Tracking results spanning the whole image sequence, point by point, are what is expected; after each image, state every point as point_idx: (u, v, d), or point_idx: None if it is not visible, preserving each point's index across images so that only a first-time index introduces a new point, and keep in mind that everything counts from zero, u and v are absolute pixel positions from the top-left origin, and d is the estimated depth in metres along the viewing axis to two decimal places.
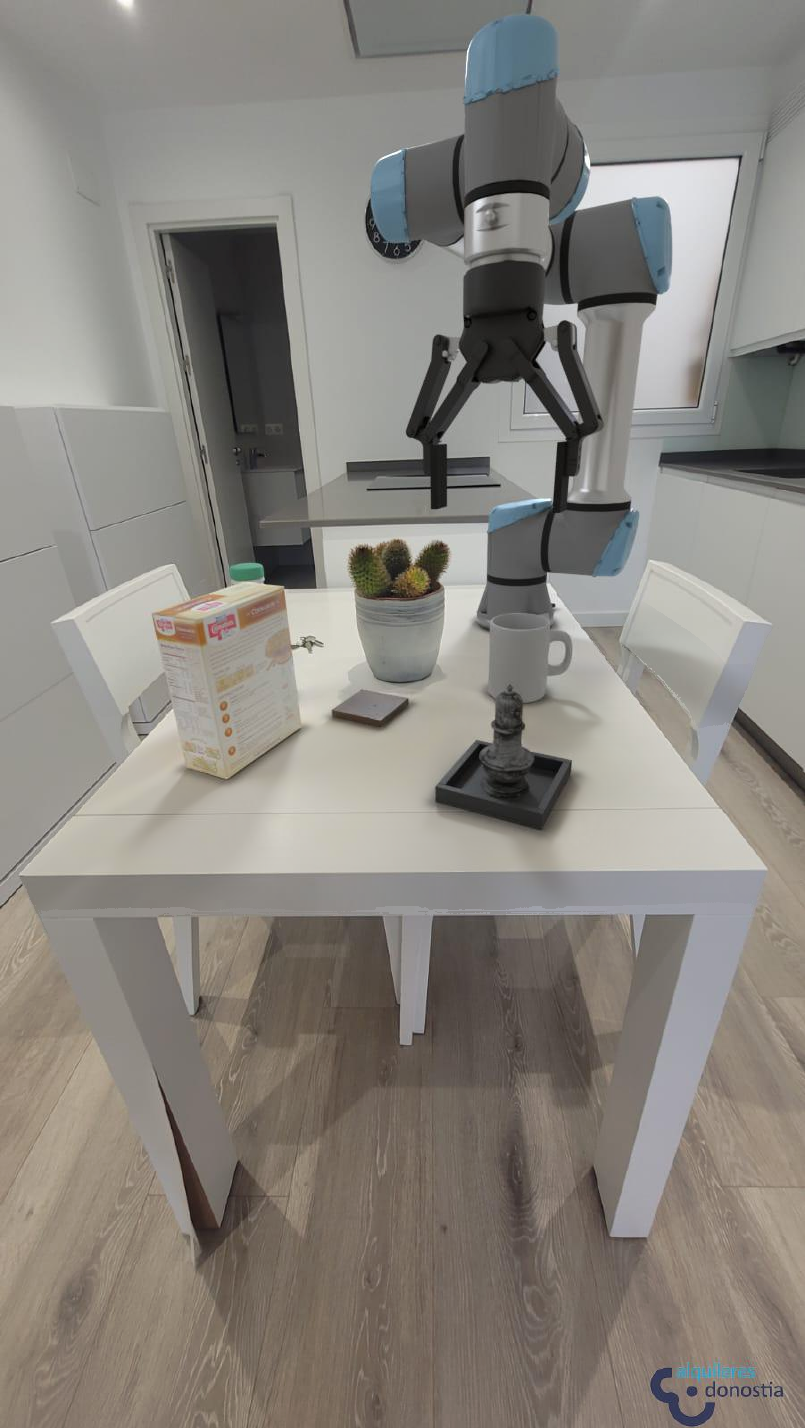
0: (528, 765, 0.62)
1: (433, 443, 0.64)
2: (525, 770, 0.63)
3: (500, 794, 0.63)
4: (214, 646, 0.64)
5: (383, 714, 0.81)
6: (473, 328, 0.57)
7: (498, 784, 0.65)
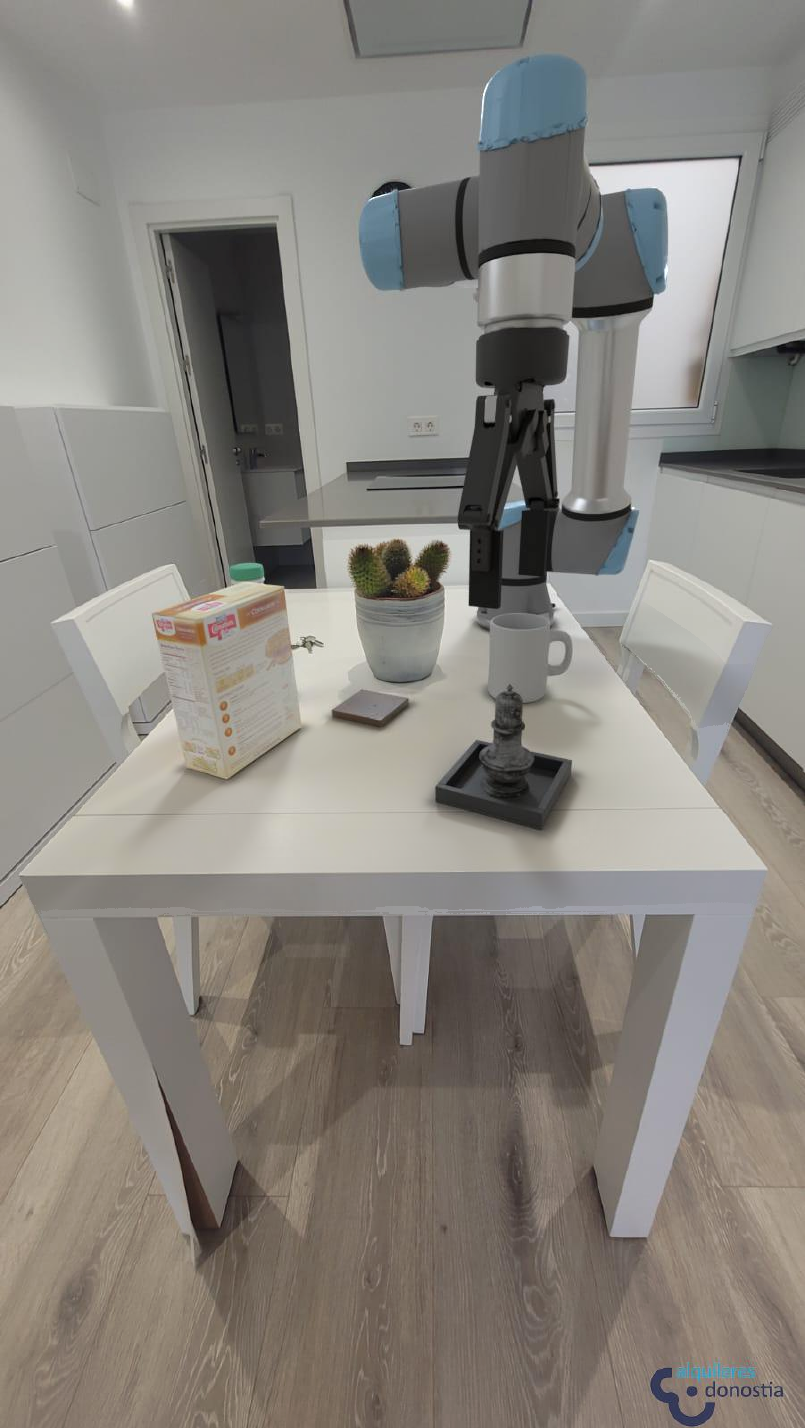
0: (528, 765, 0.62)
1: (531, 508, 0.61)
2: (525, 770, 0.63)
3: (500, 794, 0.63)
4: (214, 646, 0.64)
5: (383, 714, 0.81)
6: None
7: (498, 784, 0.65)
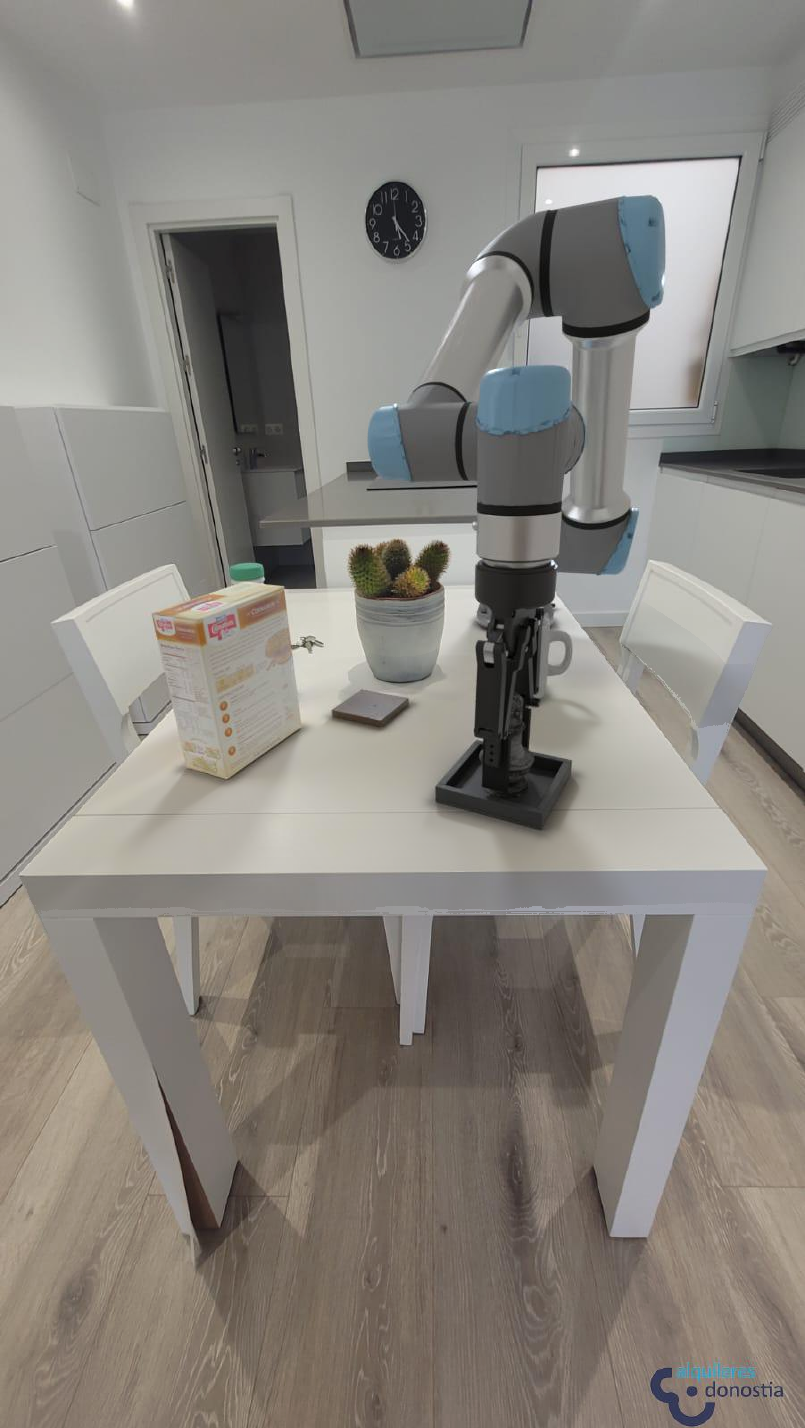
0: (528, 765, 0.62)
1: None
2: (525, 770, 0.63)
3: (500, 794, 0.63)
4: (214, 646, 0.64)
5: (383, 714, 0.81)
6: None
7: None
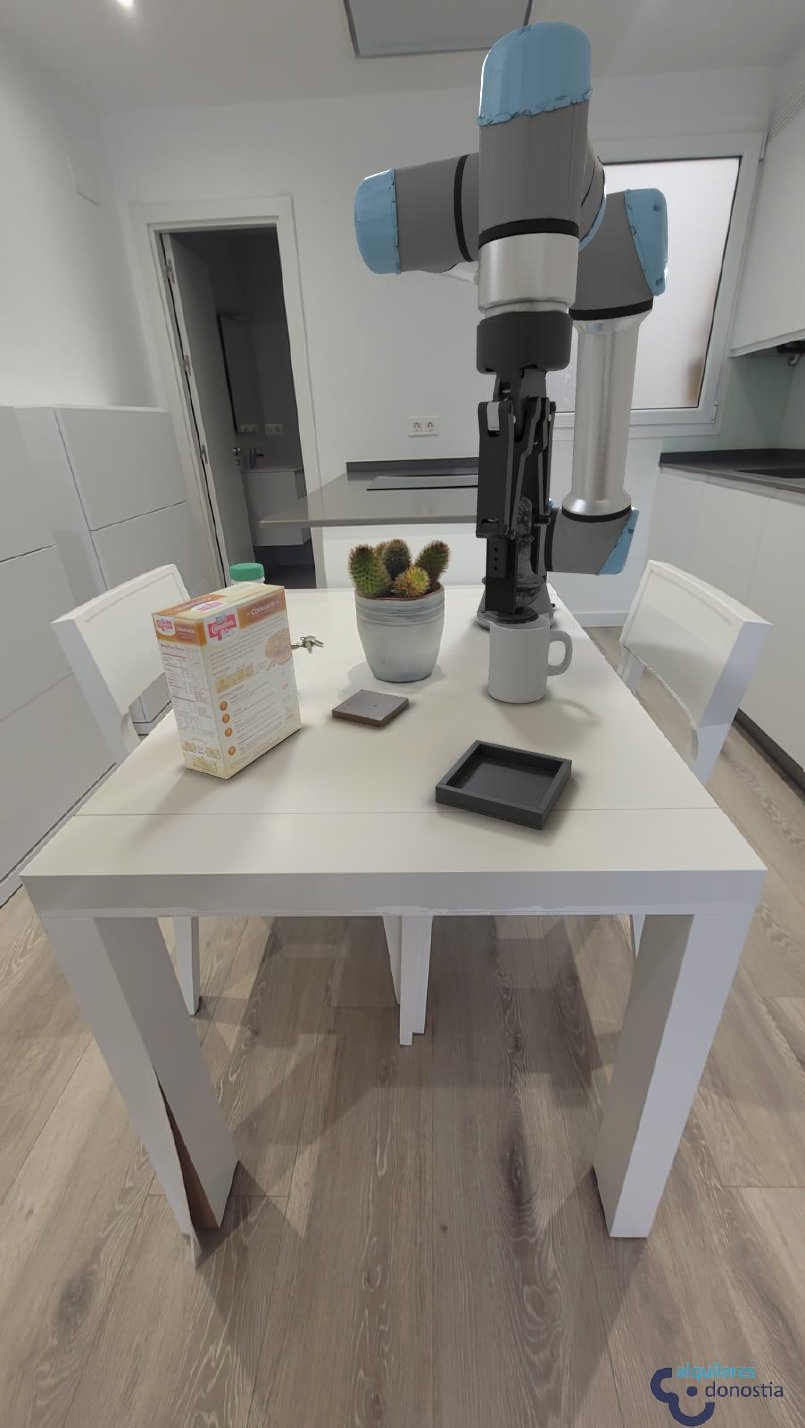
0: (538, 583, 0.54)
1: None
2: (534, 590, 0.55)
3: (505, 621, 0.56)
4: (214, 646, 0.64)
5: (383, 714, 0.81)
6: None
7: (503, 613, 0.57)
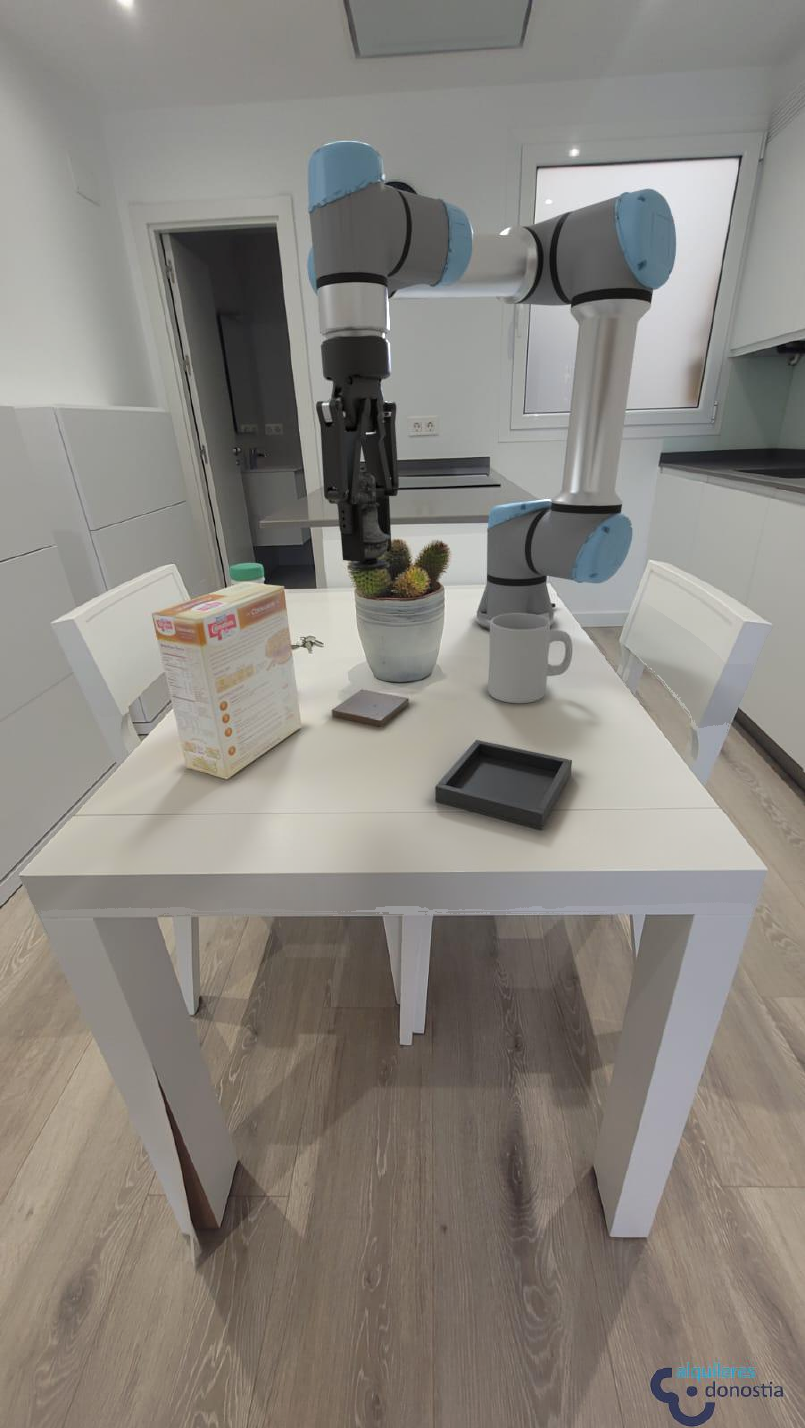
0: (382, 539, 0.72)
1: None
2: (380, 545, 0.72)
3: (360, 569, 0.73)
4: (214, 646, 0.64)
5: (383, 714, 0.81)
6: None
7: (360, 563, 0.74)
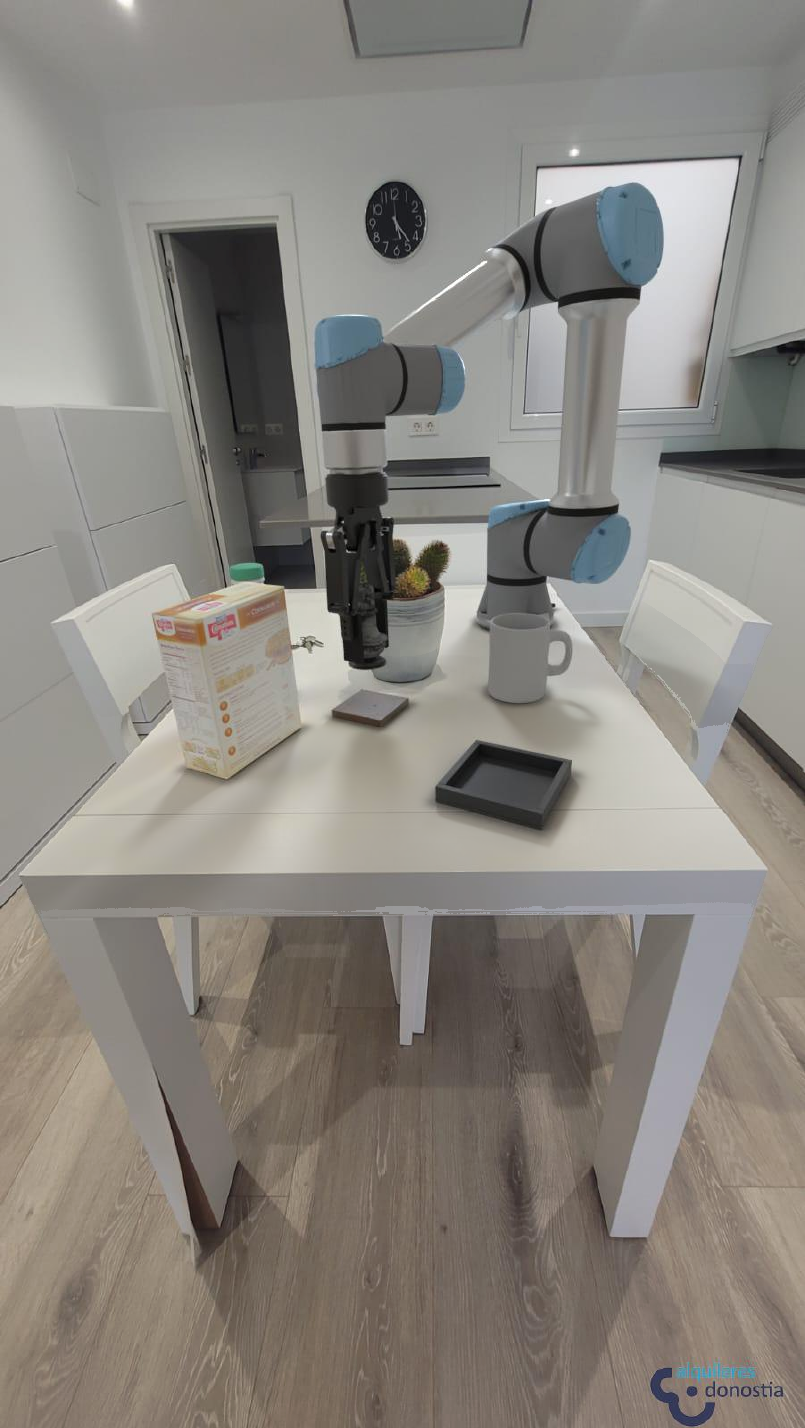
0: (380, 642, 0.78)
1: (374, 597, 0.81)
2: (378, 647, 0.79)
3: (359, 667, 0.80)
4: (214, 646, 0.64)
5: (383, 714, 0.81)
6: None
7: None
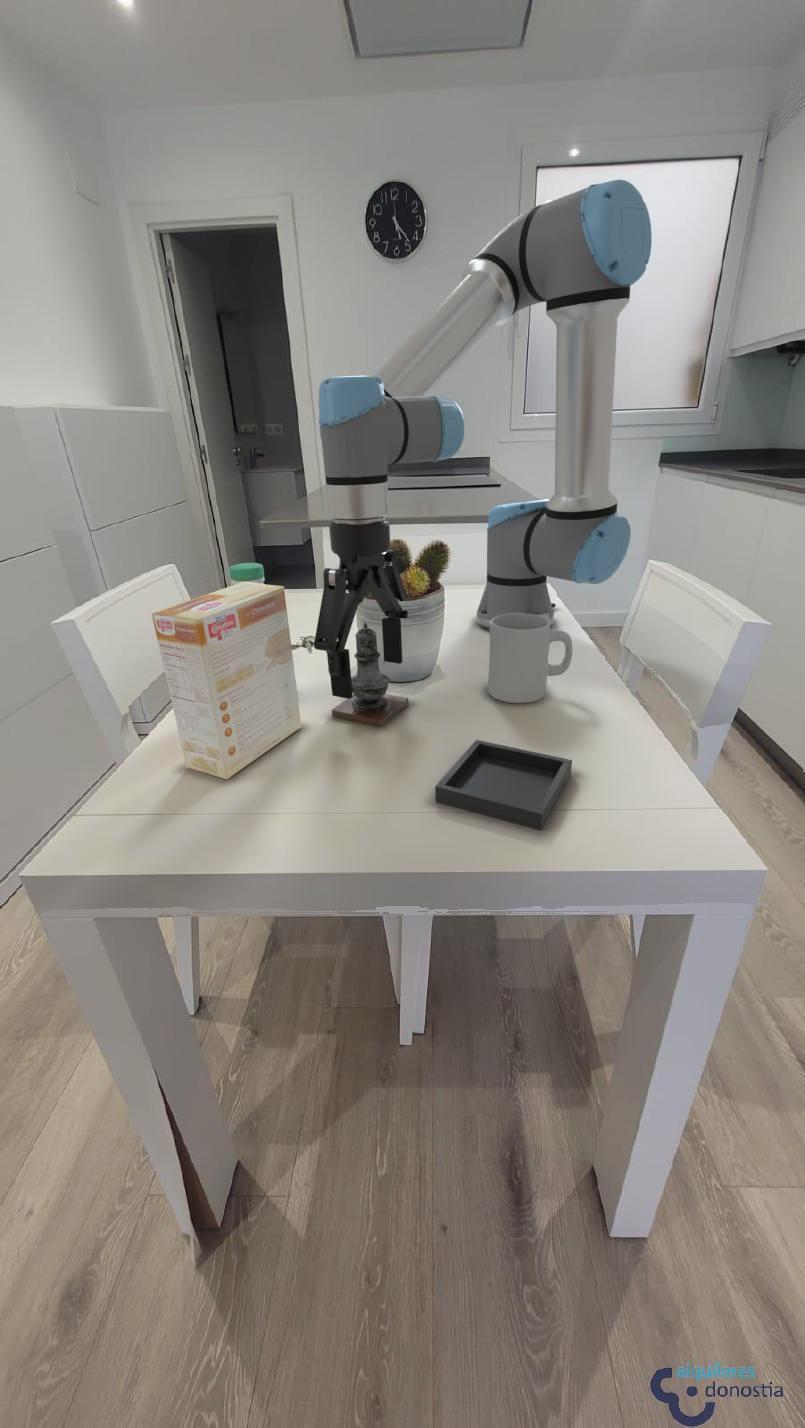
0: (382, 685, 0.81)
1: (389, 617, 0.86)
2: (380, 690, 0.82)
3: (363, 709, 0.82)
4: (214, 646, 0.64)
5: (383, 714, 0.81)
6: None
7: (363, 703, 0.84)
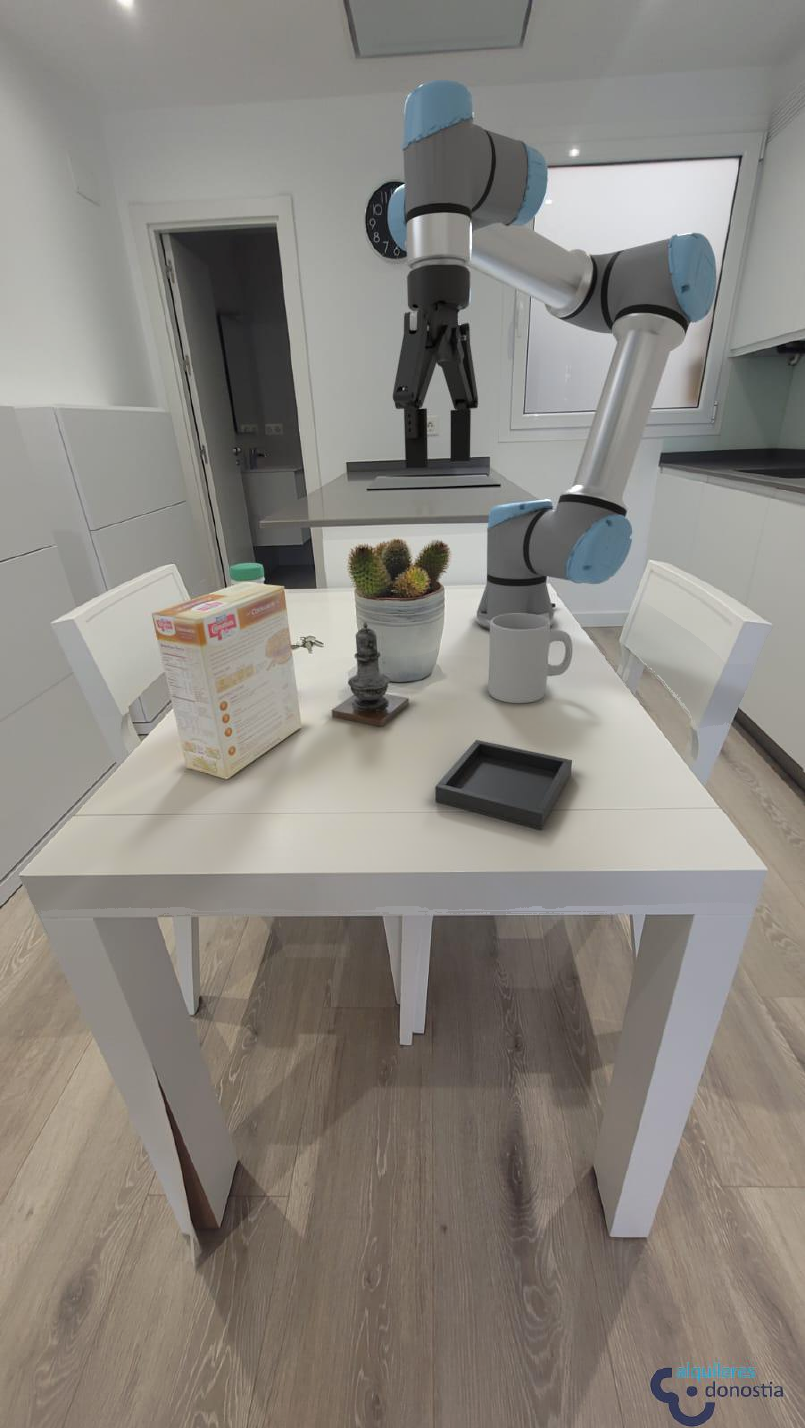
0: (382, 685, 0.81)
1: (458, 408, 0.82)
2: (380, 690, 0.82)
3: (363, 709, 0.82)
4: (214, 646, 0.64)
5: (383, 714, 0.81)
6: None
7: (363, 703, 0.84)
